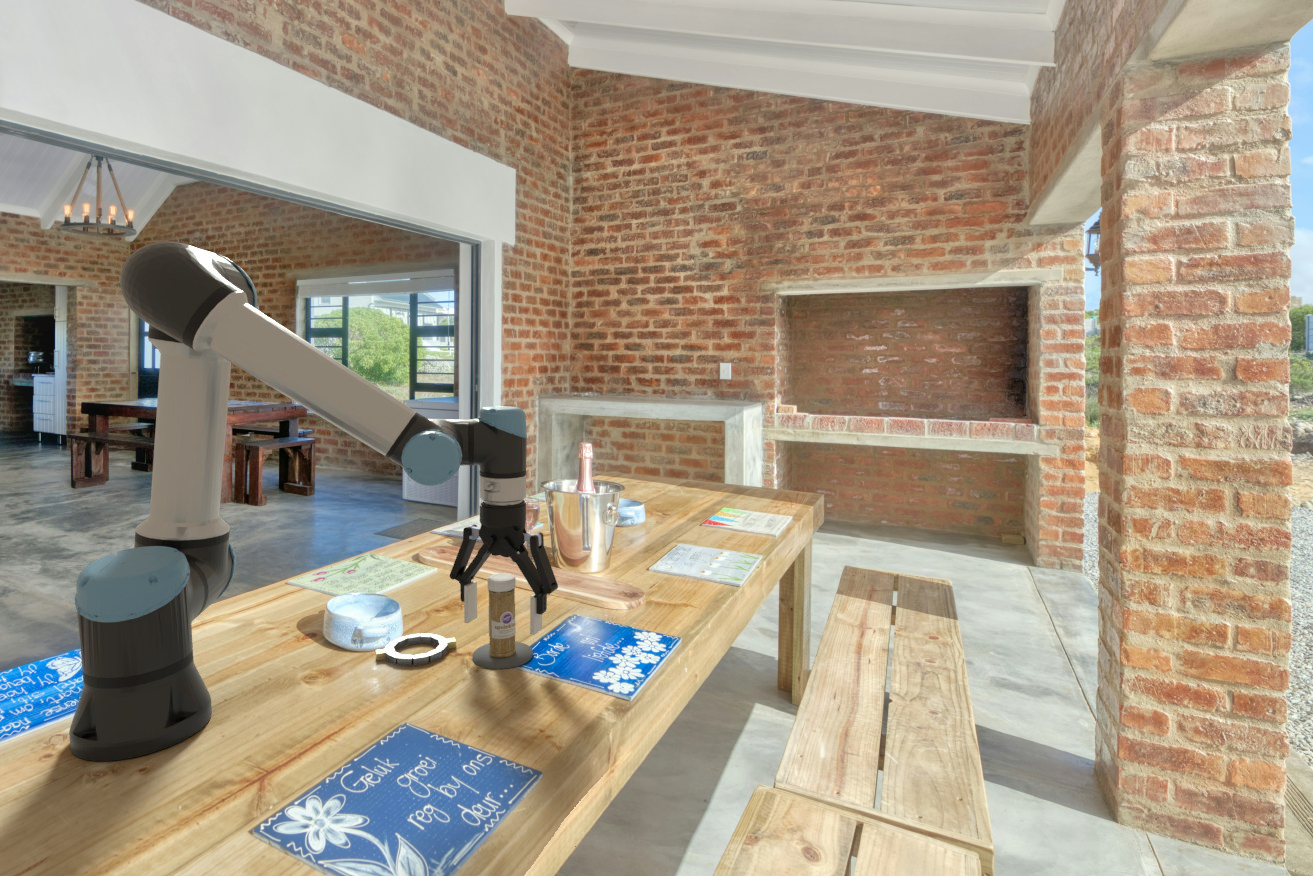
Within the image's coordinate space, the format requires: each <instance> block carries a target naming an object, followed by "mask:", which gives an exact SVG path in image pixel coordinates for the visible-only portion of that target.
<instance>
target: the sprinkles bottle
mask: <svg viewBox="0 0 1313 876" xmlns="http://www.w3.org/2000/svg"><path fill="white" fill-rule="evenodd" d="M516 583H517V582H516V576H515V575H514V574H512V573H506V572H505V573H504V572H503V573H502V572H501V573H495V574H491V575H490V576H488V577H487V589H488V637H489V643H490V650H489V654H490V655H491V656H492V657H496V658H505V657H509V656H512V655H513V654H514V653H515V652H516V648H515V642H516V601H515V599H516V598H515V597H516V596H515V591H516V590H515V589H516V586H517V585H516Z"/></svg>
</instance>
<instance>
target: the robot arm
mask: <svg viewBox="0 0 1313 876" xmlns="http://www.w3.org/2000/svg"><path fill="white" fill-rule="evenodd" d="M119 278H120V280H119V286H120V288H121V290H120V291H121V294H122V297H123V299H124V302H125V303H126V305H127V306H128V308H129V309H130V310H131V311H132V312H133V314H135V315H136V316H137V317H138V318H139V319H141V320H142V321H143V322H144V323H146V324H147V325H148V335H147V339H148V341H149V342H150V343H151V344H152V345H153V346H154V347H155V348H156V349H157V350H158V352H159V354H160V358H159V359H160V360H159V373H158V374H159V375H158V388H157V400H156V401H157V402H156V403H157V404H156V415H155V416H156V419H155V430H154V431H155V432H154V447H153V448H154V449H153V460H152V461H153V462H152V474H151V475H152V476H151V492H150V502H149V503H150V504H149V505H150V507H149V516H148V517H147V518H146V519H145V520H143V521H142V522H140V523H139V524H138V525H137V526H136V527H135V531H134V532H135V533H134V547H132V548H127V549H123V550H120V551H118V552H117V553H114V554H111V553H110V554H107V555H104V556H102V557H99V558H98V559H96V560H93V561H92V562H90V563H89V564H87V565H86V566H84V567H83V569H82V570H81V571H80V572H79V574H78V576H77V579H76V584H75V585H76V593H75V596H74V605H75V609H76V612H77V613H76V615H77V625H78V636H79V646H80V647H79V648H80V659H81V668H82V669H81V670H82V679H83V687H82V691H81V693H80V697H79V699H78V702H77V706H76V709H75V711H74V715H73V718H72V721H71V723H70V727H69V734H68V735H69V736H68V737H69V745H70V746H69V747H70V751H71V753H72V754H73V755H74V756H76V757H77V758H80V759H83V760H87V761H93V762H97V761H98V762H110V761H121V760H126V759H127V760H128V759H133V758H137V757H141V756H145V755H150V754H152V753H155V752H159V751H162V750H163V749H167V748H169V747H172V746H174V745H176V744H178V743H180V742H182V741H184V740H186V739H189V738H190V737H191V736H193V735H194V734H196V733H197V732H199V731H200V730H202V729H203V728H204V727H205V726H206V725H207V724H208V723H209V721H210V720H211V717H212V714H213V710H212V709H213V707H212V697H211V695H210V692H209V690H208V688H207V685H206V684H205V682H204V680H203V678H202V676H201V675H200V673H199V670H198V669H197V666H196V664H195V663H194V662H195V661H194V649H193V647H194V645H193V643H194V642H193V630H192V625H193V624H192V623H193V621H194V620H195V619H196V618H197V617H199V616H200V615H201V614H202V613H203V612H204V611H205V610H206V609H207V608H208V607H209V606H211V605H212V604H213V603H215V601H216V600H218V599H219V598H221V596H223V594H224V592H226V590H227V589H228V588H229V585H230V583H231V582H232V580H233V579H234V578H233V577H234V575H235V573H236V568H237V555H236V552H235V549H234V547H233V545H232V543H230V531H231V530H230V529H231V527H230V524H229V523H228V522H226V521H225V520H224V519H223V518H222V517H221V516H220V512H221V511H220V510H221V500H222V499H221V498H222V497H221V496H222V487H223V486H222V485H223V476H224V475H223V472H224V459H225V446H226V433H227V422H228V410H229V408H228V407H229V396H230V395H229V394H230V384H231V383H230V382H231V371H232V370H231V369H232V364H233V365H235V366H236V367H238V368H239V369H241V370H242V371H244V372H246V373H247V374H249V375H251V376H253V377H254V378H255V379H257V380H258V381H261V382H262V383H264V384H265V385H267V386H268V387H270V388H272V389H274V390H276V391H277V392H278V393H281V394H282V395H284V396H286V397H287V398H288V399H290V400H292V401H294V402H295V403H297V404H298V405H300V406H302V407H304V408H305V409H307V410H308V411H310V412H312V413H313V414H315V415H317V416H318V417H320V418H322V419H323V420H324V421H326V422H329V424H331V425H333V426H335V427H336V428H338V429H340V430H341V431H343V432H344V433H346V434H348V435H350V436H351V437H353V438H354V439H356V440H359V442H361V443H363V444H365V445H366V446H368V447H369V448H371V449H373V450H375V451H376V452H378V453H380V454H381V455H383V456H384V457H386V458H387V459H389V460H391V461H392V462H393V463H395V464H397V465H398V466H400V467H402V468H403V470H404V472H405V473H406V474H407V476H408V477H409V479H411V480H412V481H413V482H415V483H417V484H419V485H423V486H425V487H427V486H428V487H433V486H434V487H435V486H438V485H441V484H442V485H443V484H444V483H446V482H448V481H449V480H451V479H452V477H453V476H455V474H456V473H458V471H459V468H460V467H461V466H478V467H479V498H480V500H482V501H481V502H480V503H479V523H480V524H481V525H480V527H478V526H477V524H475V523H474V524H471V525H469V526H466V527H464V528H463V532H462V535H463V536H462V541H461V544H460V547H459V549H458V552H457V555H456V558H455V560H454V563H453V565H452V568H451V570H450V574H449V579H450V580H456V581H457V582H458V583H459V585H460V591H459V592H460V602H462V603H463V605H464V606H463V608H464V609H463V611H464V613H463V614H464V615H463V619H464V621H463V623H465V624H469V623H471V622H472V621H474V620H476V619H477V618H478V581H476V580H474V579H475V576H476V575H477V574H478V572H479V571H480V570H481V568H483V566H484V564H485V563H486V562H487V560H488V558H489V557H490V556H493V557H494V556H495V557H497V556H500V557H503V558H510V559H511V561H512V562H513V563H515V564H516V566H517V567H518V569H519V570H520V572H521V574H522V575H523V577H524V578H525V579H524V580H526V581H527V583H528V585H529V587H530V588H531V590H532V591H533V594H532V595H530V598H529V599H530V601H529V605H530V606H529V607H530V609H529V613H530V614H529V619H530V621H529V622H530V623H529V625H530V626H529V631H530V632H529V635H533V636H534V635H536V634H537V633H539V632H540V631H541V630H542V629H543V614H544V613H545V612H547V610H548V609H547V605H548V603H547V602H548V595H550V594H552V593H553V592H554V591H556V590H557V589H558V588H559V584H558V581H557V580H556V579H557V578H556V576H555V574H554V571H553V568H552V565H551V562H550V560H549V559H550V558H549V557H548V554H547V552H546V548H545V545H544V543H545V542H544V534H543V533H542V531H541V532H540V531H539V532H537V533H528V532H527V530H526V523H527V502H526V501H525V500H524V499H525V498H527V451H528V450H527V446H528V445H527V444H528V442H527V440H528V435H527V416H526V415H527V414H526V412H525V411H524V410H523V409H522V408H521V407H518V406H510V405H509V406H508V405H507V406H506V405H503V406H502V405H493V406H492V405H491V406H489V405H488V406H483V407H481V408H480V409H479V413H478V415H477V418H473V419H472V418H469V419H465V418H464V419H461V418H460V419H456V418H455V419H454V418H446V419H445V418H427V417H426V416H424V415H422V414H420V413H419V412H417V411H416V410H414V409H413V408H411V407H409V406H408V405H407V404H406V403H403V402H402V401H400V400H399V399H397V398H396V397H394V396H392V395H391V394H390V393H388V392H386V391H384V390H383V389H381V388H380V387H378V386H377V385H375V384H374V383H372V382H371V381H370V380H367V379H366V378H364V377H363V376H362V375H360V374H358V373H357V372H355V371H354V370H352V369H350V368H349V367H348V366H345V364H342V363H341V362H339V361H338V360H336V359H335V358H333V357H332V356H330V355H329V354H327V353H325V352H324V351H322V350H321V349H319V348H318V347H316V346H314V345H313V344H311V343H310V342H308V341H307V340H305V339H304V338H302V337H301V336H299V335H297V334H295V333H294V332H293V331H291V330H290V329H288V328H287V327H285V326H283V325H282V324H280V323H278V322H277V321H276V320H274V319H272V318H271V317H269V316H267V315H266V314H264V313H263V312H261V311H260V310H259V309H258V304H259V303H258V293H257V292H258V291H257V289H256V287H255V284H254V282H253V281H252V279H251V277H250V276H249V274H248V273H247V272H246V271H245V270H244V269H243V268H242V267H240V266H239V265H238V264H237V263H235V262H234V261H233V260H230V258H228V257H226V256H223V255H222V254H219V253H215V252H212V251H208V250H205V249H202V248H198V247H195V246H193V245H190V244H188V243H187V244H186V243H183V242H179V241H171V240H169V241H168V240H167V241H156V242H152V243H148V244H145V245H142V246H141V247H139V248H137V250H135V251H134V252H133V253H131V254H130V256H128V258H127V259H126V261H125V262H124V264H123V266H122V268H121V270H120V275H119ZM479 538H480V540H481V541H482V543H483V544H482V545H481V547H480V548H479V549H478V550H477V553H476V555H475V557H473V559H472V560H471V562H470V563H469V561H470V558H471V556H472V554H473V550H474V548H475V545H476V543H477V540H478V539H479ZM525 543H527V545H526V546H527V547H528V548H530V549H529V550H530V554H531V557H532V558H531V557H530V556H529V551H528V549H527V548H526V546H525ZM532 559H533V561H532ZM468 563H469V565H468Z"/></svg>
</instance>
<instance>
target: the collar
mask: <svg viewBox="0 0 1313 876" xmlns="http://www.w3.org/2000/svg"><path fill="white" fill-rule="evenodd" d="M414 644H415V645H416V644H431V645H433V646H436V648H435V649H432V650H429V651H428V652H423V653H418V654H403V653H400V652H398V650H399V649H401V648H403V647H406V646H409V645H414ZM455 648H456V649H457V640H456V638H455V637H449V638H446V637H445V636H442V635H439V634H438V633H437V634H435V633H425V632H422V633H420V632H419V633H412V634H407V635H402V636H400V637H397V638H394V639H393V640H390V642H389V643H387V645H385V647H384V648H381V649H380V648H379V649H375V658H376V661H377V662H379V661H385V660H386V661H387V662H389V663H391V664H393V665H397V666H405V667H412V666H415V667H416V666H420V665H425V664H429V663H433V662H436V661H437V660H439V659H442V658H444V656H445V655H447V653H448V651H449V650H450V649H455Z"/></svg>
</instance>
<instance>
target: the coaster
mask: <svg viewBox="0 0 1313 876" xmlns="http://www.w3.org/2000/svg"><path fill="white" fill-rule="evenodd" d="M515 648H516V652H515V653H514V654H513V655H512V656H509V657H505V658H496V657H492V656H491V655H490V654H489V650H490V642H489V643H486V644H483V645H482V646H481V645H480V646H479V647H478V648H476V649H475V650H474V652H473V653H472V661H473V663H474V664H475V665H477V666H478V667H480V668H484V669H489V670H506V669H507V670H508V669H513V668H516V667H520V666H523V665H524V664H526V663H528V662H529V661H531V660H532V658H533V655H534V654H533V653H534V651H533V648H532V647H531V646H529V645H528V644H526V643H523V642H520V641H515Z"/></svg>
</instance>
